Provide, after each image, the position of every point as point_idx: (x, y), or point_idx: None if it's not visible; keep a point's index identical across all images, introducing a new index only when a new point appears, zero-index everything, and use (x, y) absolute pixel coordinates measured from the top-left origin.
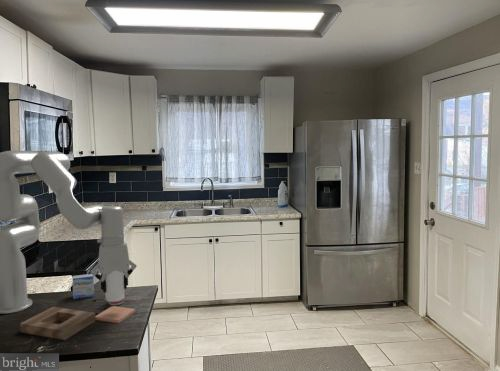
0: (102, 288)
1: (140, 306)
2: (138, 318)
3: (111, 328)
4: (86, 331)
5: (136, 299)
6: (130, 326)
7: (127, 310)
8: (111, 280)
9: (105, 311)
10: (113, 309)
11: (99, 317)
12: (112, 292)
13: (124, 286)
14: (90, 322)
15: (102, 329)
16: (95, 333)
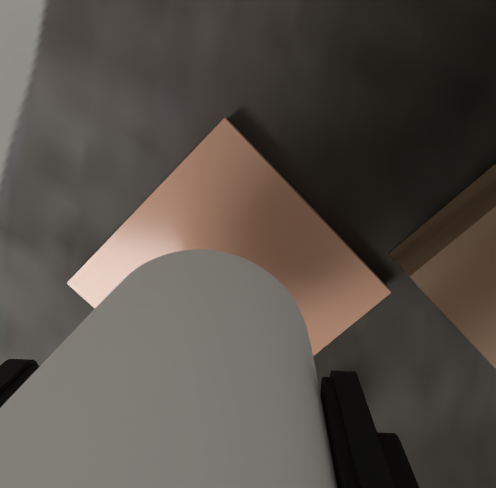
0: (383, 438)
1: (31, 349)
2: (67, 135)
3: (298, 45)
4: (491, 90)
5: None
6: (147, 3)
7: None
8: (218, 461)
9: None
10: None
11: (358, 259)
12: (235, 303)
13: (20, 385)
14: (436, 219)
15: (368, 63)
16: (436, 10)
